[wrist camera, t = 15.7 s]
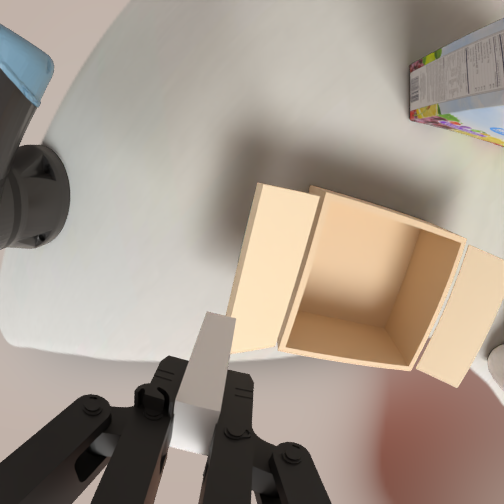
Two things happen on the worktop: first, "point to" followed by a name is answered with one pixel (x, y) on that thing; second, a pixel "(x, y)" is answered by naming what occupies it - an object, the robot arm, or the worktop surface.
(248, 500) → the robot arm
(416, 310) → the carton
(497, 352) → the soap bottle
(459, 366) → the flap
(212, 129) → the worktop surface
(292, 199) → the flap
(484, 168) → the worktop surface
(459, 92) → the snack box
